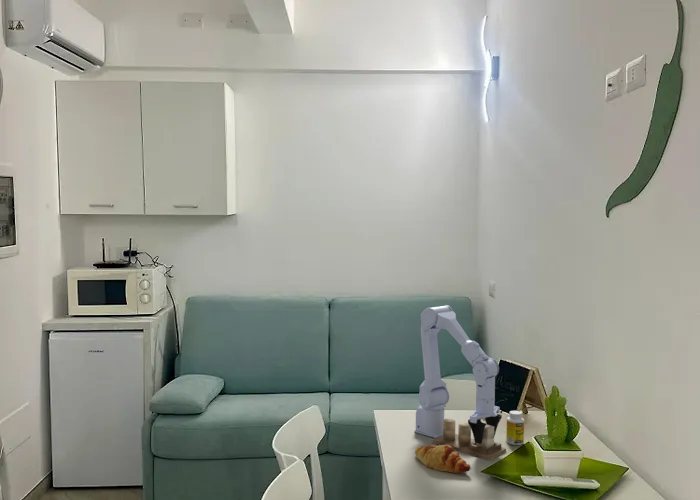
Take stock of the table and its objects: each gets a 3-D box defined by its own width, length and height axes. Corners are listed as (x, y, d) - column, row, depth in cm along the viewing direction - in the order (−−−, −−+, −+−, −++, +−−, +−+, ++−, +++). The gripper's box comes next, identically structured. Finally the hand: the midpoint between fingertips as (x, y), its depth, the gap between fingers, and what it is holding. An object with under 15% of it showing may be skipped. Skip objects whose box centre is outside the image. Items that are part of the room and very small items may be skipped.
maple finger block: (475, 447, 207) (475, 426, 207) (481, 444, 210) (482, 423, 210) (487, 451, 204) (487, 429, 204) (493, 447, 207) (494, 426, 207)
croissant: (409, 469, 202) (400, 449, 200) (428, 447, 208) (420, 427, 205) (464, 489, 187) (456, 468, 184) (482, 464, 193) (475, 444, 190)
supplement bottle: (515, 447, 212) (516, 416, 211) (502, 441, 216) (503, 411, 216) (527, 443, 215) (527, 413, 214) (514, 438, 219) (515, 408, 219)
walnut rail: (432, 442, 215) (432, 422, 215) (449, 435, 222) (449, 415, 222) (489, 460, 200) (489, 437, 200) (506, 451, 208) (506, 429, 207)
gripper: (484, 405, 198) (483, 449, 199) (508, 395, 209) (507, 436, 210) (464, 400, 203) (463, 443, 204) (489, 391, 213) (488, 431, 214)
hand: (484, 439), depth 207 cm, fingers open, 7 cm apart
